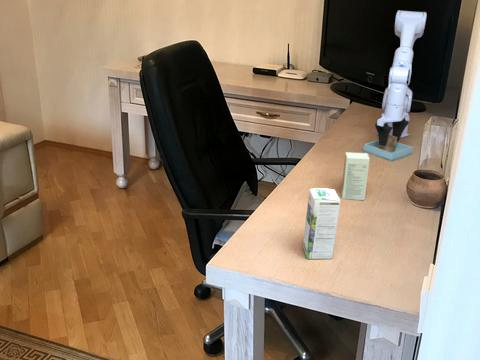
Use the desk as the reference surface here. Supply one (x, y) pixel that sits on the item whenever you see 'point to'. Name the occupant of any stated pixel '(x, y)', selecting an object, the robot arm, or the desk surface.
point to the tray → (399, 152)
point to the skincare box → (355, 176)
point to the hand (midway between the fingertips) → (388, 142)
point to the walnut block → (389, 144)
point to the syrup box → (321, 223)
